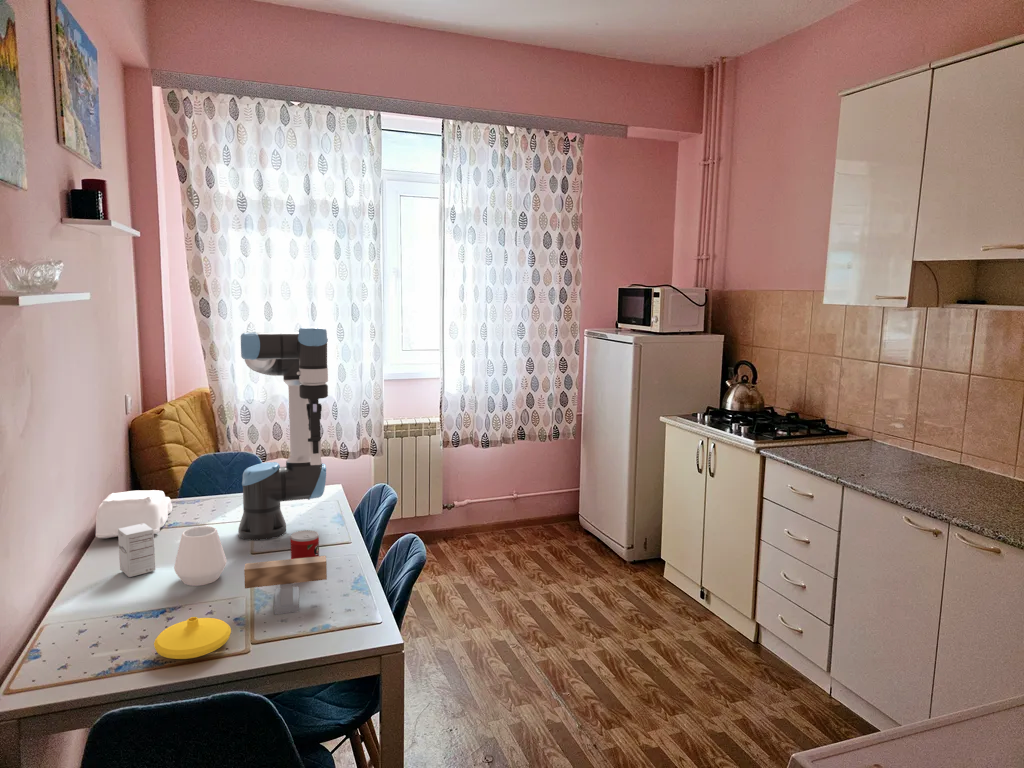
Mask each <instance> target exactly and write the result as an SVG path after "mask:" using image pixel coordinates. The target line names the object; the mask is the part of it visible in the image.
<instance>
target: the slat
mask: <svg viewBox="0 0 1024 768" xmlns="http://www.w3.org/2000/svg"><path fill="white" fill-rule="evenodd" d="M326 556H327V555H321V556H320V555H319V556H317V557H307V558H297V559H291V558H289V559H288V558H287V559H280V560H270V561H269V560H268V561H258V562H248V563H245V564H244V569H243V570H244V571H243V572H244V578H243V579H244V589H251V588H252V589H253V588H261V587H262V588H263V587H271V586H280V585H282V584H291V583H293V584H298V583H299V584H300V583H309V582H317V581H326V580H327V578H328V576H327V574H328V573H327V572H328V571H327V568H328V567H327V557H326Z"/></svg>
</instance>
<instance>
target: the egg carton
mask: <svg viewBox="0 0 1024 768" xmlns="http://www.w3.org/2000/svg"><path fill="white" fill-rule="evenodd" d="M171 500H172V499H171V498H170V497H169V496H166V494H165V492H164V491H163V490H156V489H152V490H151V489H150V490H139V489H138V490H128V491H127V490H126V491H123V492H122V491H119V492H112V493H110V494H108V495H107V497H105V499H103V500H102V502H101V503H100V504H99V506H98V508H97V509H96V517H95V518H96V519H95V521H96V522H95V537H96V538H98V539H109V538H116V537H118V529H119V528H124V527H128V526H133V525H137V524H143V523H145V524H146V525H147V526H149V527H151V528H152V529H153V531H154V535H156V534H158V533H160V530H161V528H162V527H164V525H165V524H166V522H167V521H168V520H169V519H168V518H169V514H171V513H172V510H173V504H172V501H171Z"/></svg>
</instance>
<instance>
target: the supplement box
mask: <svg viewBox="0 0 1024 768" xmlns="http://www.w3.org/2000/svg"><path fill="white" fill-rule="evenodd" d="M117 537H118V555H119V557H118V558H119V570H120V571H121V572H123V573H124V574H125V576H127V577H128V578H131V577H135V576H140V575H144V574H148V573H152V572H155V571H156V558H155V557H156V556H155V555H156V554H155V534H154V531H153V529H152V528H151V527H149V526H147V525H146V524H145V523H143V524H137V525H133V526H128V527H124V528H119V529H118V536H117Z"/></svg>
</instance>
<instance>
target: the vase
mask: <svg viewBox="0 0 1024 768" xmlns="http://www.w3.org/2000/svg"><path fill="white" fill-rule="evenodd" d="M231 633H232V628H231V626H230V624H228V623H227V622H225V621H224V620H222V619H219V618H213V617H200V618H199V617H197V616H191V617H189V618H187V619H186V620H183V621H180V622H176V623H175V624H172V625H170V626H168V627H167V628H165V629H163V630H162V631H161V632H160V633H159V634H158V635H157V637H156V638H155V640H154V642H153V645H154V649H155V652H156V653H157V654H158V655H159V656H161V657H163V658H167V659H176V660H188V659H194V658H195V659H196V658H199V657H202V656H205V655H207V654H210V653H212V652H215V651H216V650H218V649H220V648H221V647H222V646H224V645H225V644H226V643H227V642H228V641H229V639H230V636H231Z"/></svg>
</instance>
